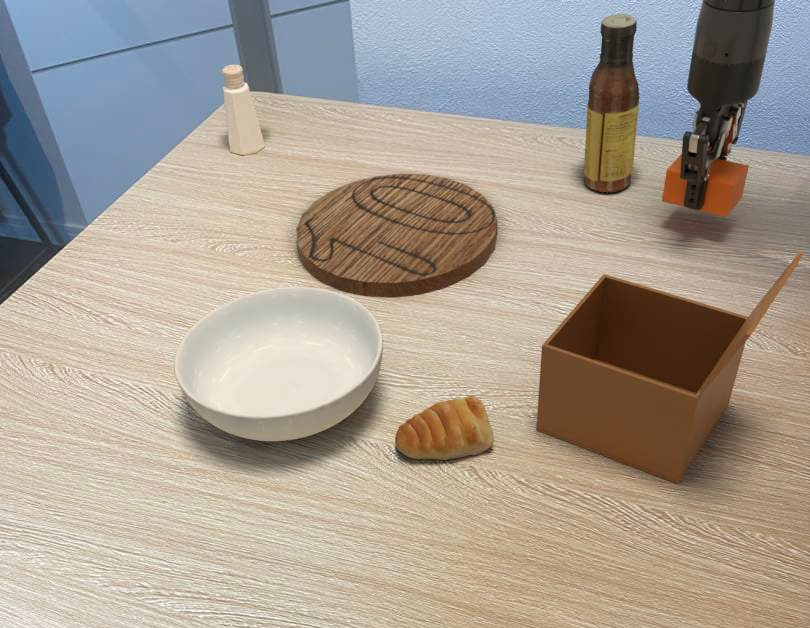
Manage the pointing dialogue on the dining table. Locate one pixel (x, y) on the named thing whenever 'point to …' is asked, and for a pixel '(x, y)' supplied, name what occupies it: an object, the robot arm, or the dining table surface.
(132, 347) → the dining table surface
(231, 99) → the pepper shaker
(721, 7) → the robot arm
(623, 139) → the sauce bottle
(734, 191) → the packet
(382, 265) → the trivet
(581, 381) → the carton
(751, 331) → the flap
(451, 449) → the pastry
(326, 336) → the serving bowl
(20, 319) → the dining table surface
